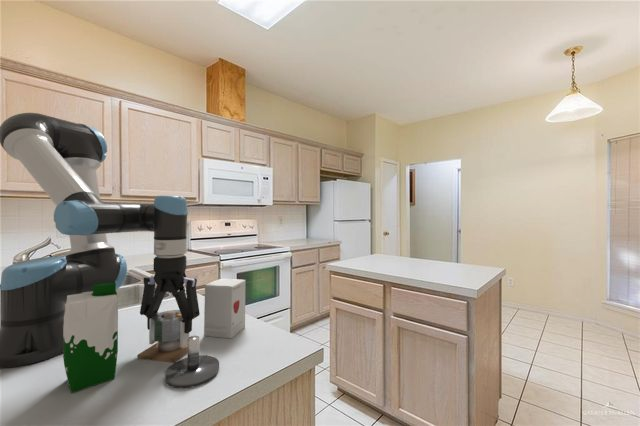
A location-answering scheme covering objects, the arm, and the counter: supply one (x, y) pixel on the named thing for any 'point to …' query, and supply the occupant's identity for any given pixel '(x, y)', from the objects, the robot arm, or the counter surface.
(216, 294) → the supplement box
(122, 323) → the counter surface
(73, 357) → the milk carton
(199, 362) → the disc
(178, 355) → the stand
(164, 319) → the clutch ring
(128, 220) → the robot arm
